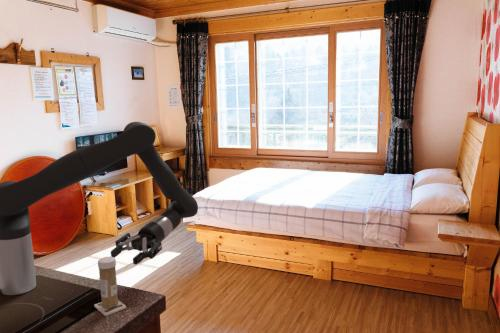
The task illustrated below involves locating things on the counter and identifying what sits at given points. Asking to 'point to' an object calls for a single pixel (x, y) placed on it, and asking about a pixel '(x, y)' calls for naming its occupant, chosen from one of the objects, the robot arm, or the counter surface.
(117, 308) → the letter card
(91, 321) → the counter surface
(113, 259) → the sprinkles bottle
